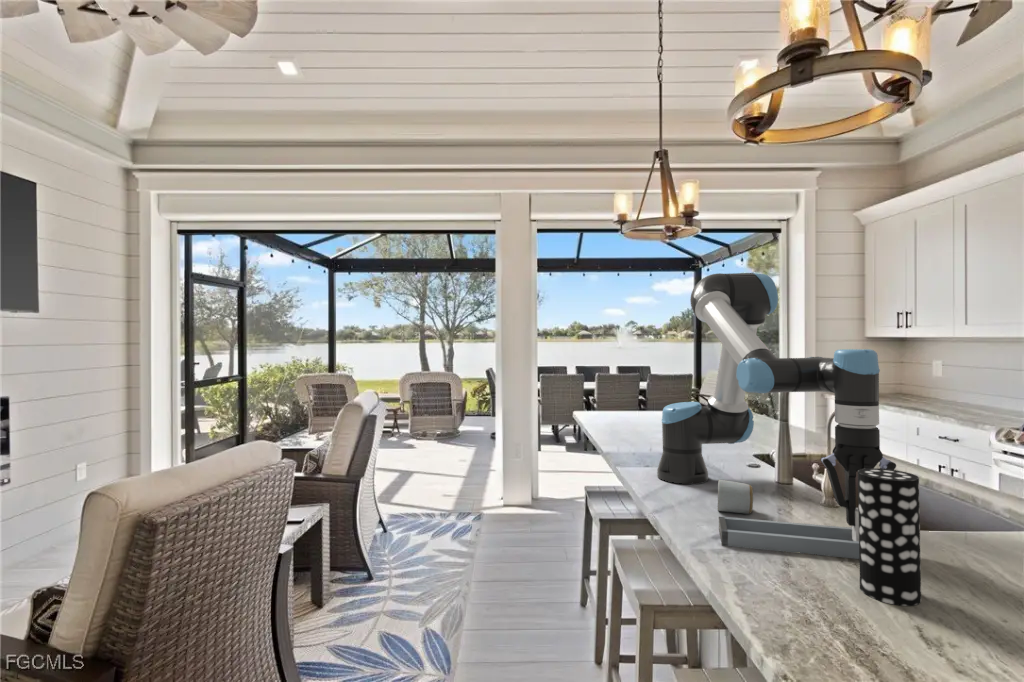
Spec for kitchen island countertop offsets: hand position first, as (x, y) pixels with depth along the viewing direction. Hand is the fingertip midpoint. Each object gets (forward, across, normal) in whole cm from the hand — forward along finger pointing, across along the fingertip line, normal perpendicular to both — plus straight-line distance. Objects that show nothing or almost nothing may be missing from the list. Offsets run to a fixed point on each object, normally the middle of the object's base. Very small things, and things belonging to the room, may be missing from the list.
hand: (858, 541), depth 104 cm
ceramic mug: (+2, -22, +20) cm, 30 cm away
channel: (+2, -13, 0) cm, 13 cm away
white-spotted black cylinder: (+2, -1, -19) cm, 19 cm away
